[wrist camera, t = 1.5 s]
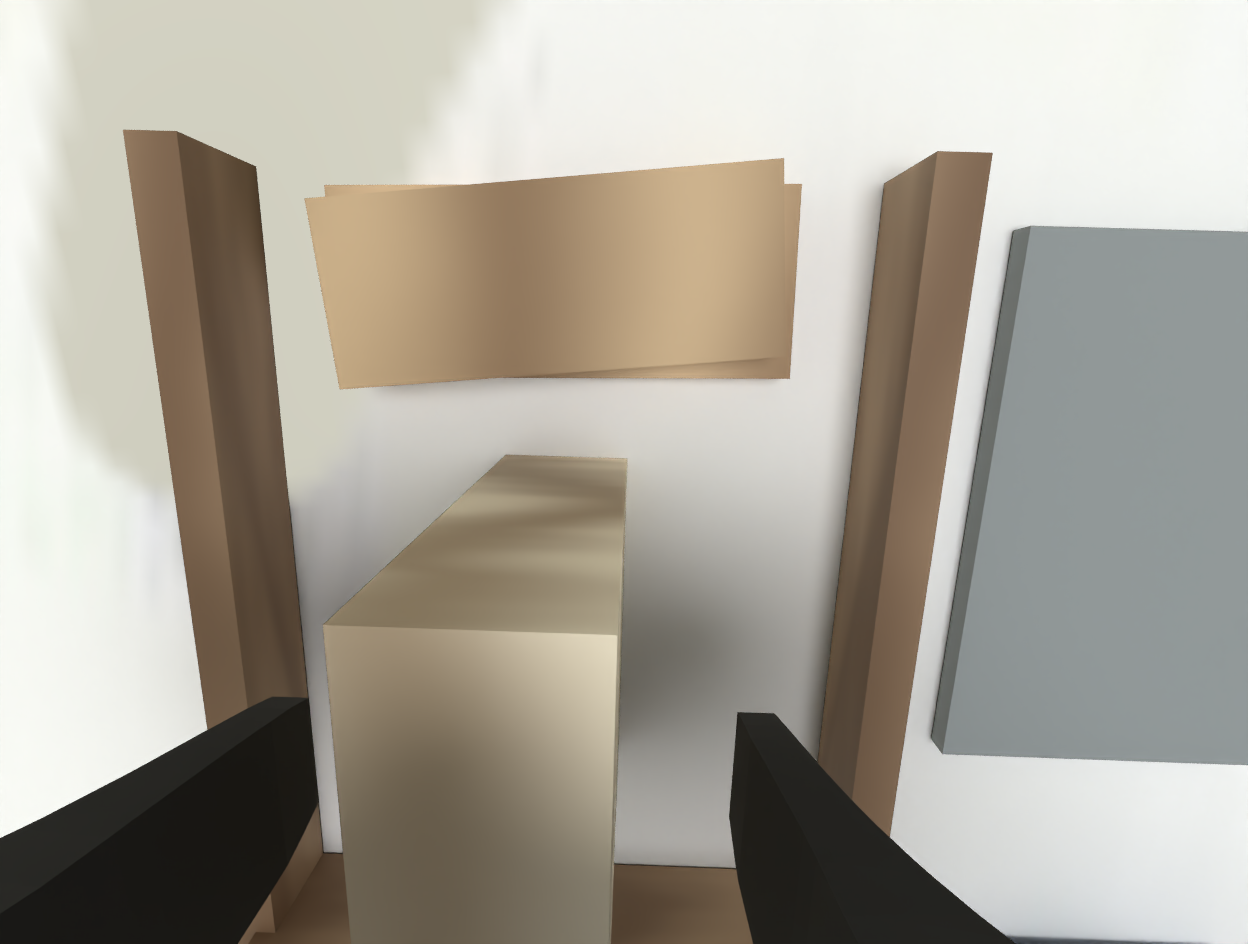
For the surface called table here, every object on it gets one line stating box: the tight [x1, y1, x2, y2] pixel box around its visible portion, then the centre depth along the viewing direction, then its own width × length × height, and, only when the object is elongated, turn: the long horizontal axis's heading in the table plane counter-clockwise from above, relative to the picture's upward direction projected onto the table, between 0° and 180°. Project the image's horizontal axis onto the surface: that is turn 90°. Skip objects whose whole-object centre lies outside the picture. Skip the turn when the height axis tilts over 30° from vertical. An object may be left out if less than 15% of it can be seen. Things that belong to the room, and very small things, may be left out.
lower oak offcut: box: [324, 184, 802, 379], centre depth 14 cm, size 10×4×2 cm, turn 90°
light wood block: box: [323, 455, 627, 944], centre depth 11 cm, size 3×8×9 cm, turn 178°
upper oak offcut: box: [305, 158, 786, 389], centre depth 12 cm, size 9×4×1 cm, turn 94°
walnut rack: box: [123, 130, 993, 944], centre depth 13 cm, size 16×20×5 cm
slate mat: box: [932, 226, 1248, 765], centre depth 15 cm, size 8×13×1 cm, turn 178°
